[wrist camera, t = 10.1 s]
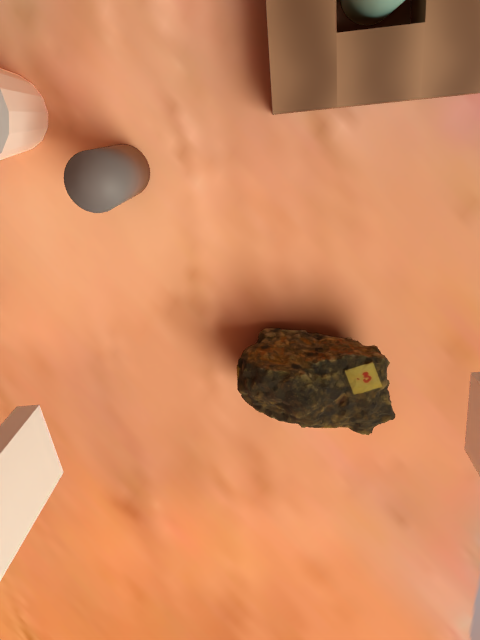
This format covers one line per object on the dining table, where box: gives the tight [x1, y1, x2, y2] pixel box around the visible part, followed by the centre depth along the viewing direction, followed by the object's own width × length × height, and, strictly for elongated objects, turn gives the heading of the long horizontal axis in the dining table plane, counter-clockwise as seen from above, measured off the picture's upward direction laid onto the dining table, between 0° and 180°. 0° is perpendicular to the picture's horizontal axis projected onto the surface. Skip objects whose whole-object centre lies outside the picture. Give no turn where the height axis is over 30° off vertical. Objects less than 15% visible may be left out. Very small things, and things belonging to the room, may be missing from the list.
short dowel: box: [64, 144, 150, 213], centre depth 34 cm, size 4×4×7 cm
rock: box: [237, 328, 395, 435], centre depth 39 cm, size 12×9×8 cm
